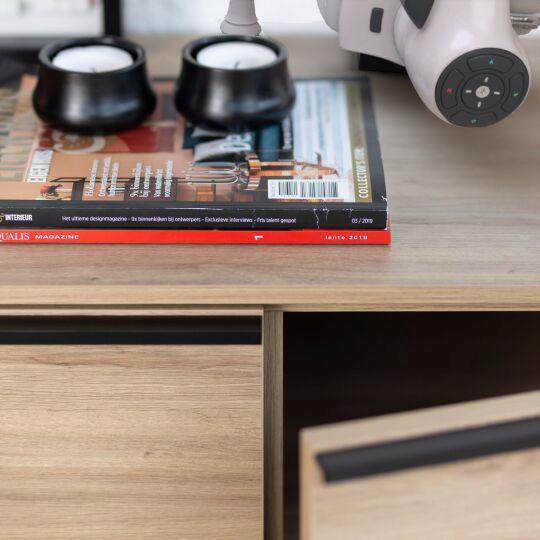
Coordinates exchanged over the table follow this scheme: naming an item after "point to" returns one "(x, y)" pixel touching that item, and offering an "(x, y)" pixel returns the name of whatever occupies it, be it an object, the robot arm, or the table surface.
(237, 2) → the rook chess piece
